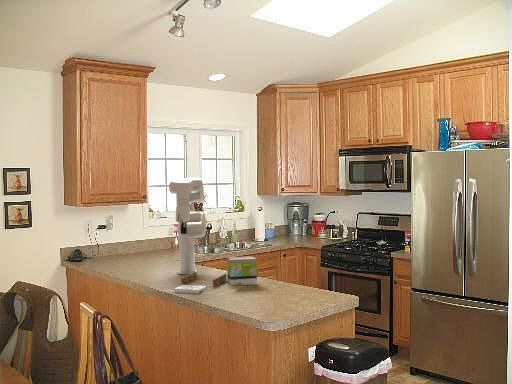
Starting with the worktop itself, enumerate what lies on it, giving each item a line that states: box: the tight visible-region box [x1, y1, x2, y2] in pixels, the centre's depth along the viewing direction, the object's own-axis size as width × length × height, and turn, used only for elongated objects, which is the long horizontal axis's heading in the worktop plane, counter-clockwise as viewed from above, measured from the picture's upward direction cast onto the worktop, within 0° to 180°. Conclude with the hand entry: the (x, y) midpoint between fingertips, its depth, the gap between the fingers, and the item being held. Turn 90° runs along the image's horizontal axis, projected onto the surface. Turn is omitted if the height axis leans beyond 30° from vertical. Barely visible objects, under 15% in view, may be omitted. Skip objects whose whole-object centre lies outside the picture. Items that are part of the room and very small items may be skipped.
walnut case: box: [180, 272, 227, 288], centre depth 305 cm, size 17×20×5 cm
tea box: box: [226, 256, 258, 286], centre depth 305 cm, size 15×10×15 cm, turn 105°
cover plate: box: [174, 285, 208, 295], centre depth 289 cm, size 10×14×2 cm
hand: (183, 233), depth 319 cm, fingers closed
